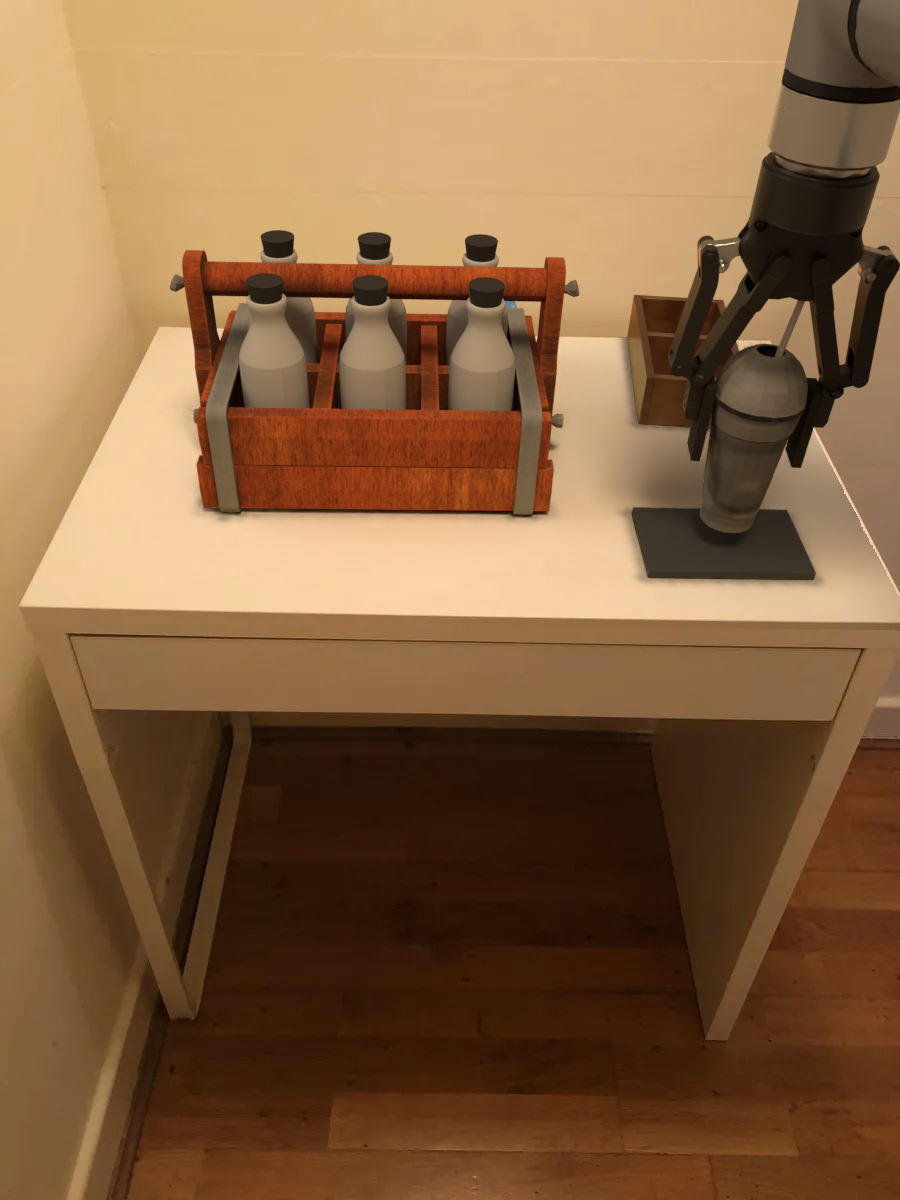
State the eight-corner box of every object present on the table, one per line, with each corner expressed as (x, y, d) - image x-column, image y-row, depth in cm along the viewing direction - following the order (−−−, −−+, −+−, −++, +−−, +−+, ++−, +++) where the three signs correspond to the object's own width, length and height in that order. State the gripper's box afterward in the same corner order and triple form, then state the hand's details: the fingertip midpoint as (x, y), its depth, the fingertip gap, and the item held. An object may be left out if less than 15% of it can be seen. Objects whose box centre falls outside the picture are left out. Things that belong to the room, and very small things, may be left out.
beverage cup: (704, 482, 87) (758, 263, 74) (783, 512, 84) (853, 289, 71) (668, 521, 83) (718, 295, 69) (750, 554, 80) (818, 324, 66)
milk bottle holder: (215, 395, 102) (188, 207, 89) (549, 400, 103) (569, 215, 91) (177, 515, 86) (138, 307, 73) (573, 519, 87) (601, 315, 75)
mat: (784, 516, 89) (787, 509, 88) (813, 580, 82) (816, 572, 82) (631, 513, 88) (632, 506, 88) (648, 578, 82) (649, 570, 81)
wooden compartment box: (713, 342, 114) (723, 299, 111) (737, 430, 100) (749, 383, 96) (626, 337, 115) (633, 294, 111) (638, 423, 100) (646, 377, 97)
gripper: (961, 149, 66) (858, 438, 82) (662, 133, 67) (615, 422, 82) (999, 187, 61) (881, 490, 76) (673, 169, 62) (620, 472, 77)
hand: (743, 454), depth 79 cm, fingers closed on beverage cup, 7 cm apart
